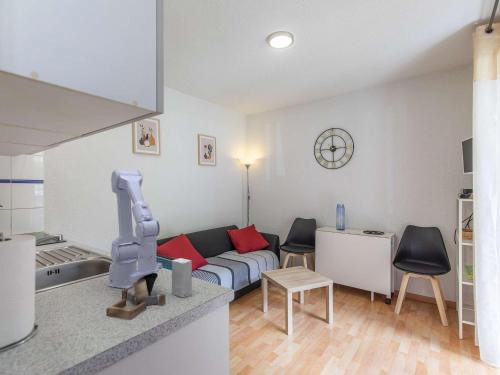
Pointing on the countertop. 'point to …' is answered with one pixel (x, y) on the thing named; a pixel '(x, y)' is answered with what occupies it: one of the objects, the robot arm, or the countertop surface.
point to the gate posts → (161, 297)
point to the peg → (140, 290)
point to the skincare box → (181, 277)
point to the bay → (124, 310)
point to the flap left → (130, 297)
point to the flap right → (151, 299)
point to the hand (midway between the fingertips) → (147, 296)
